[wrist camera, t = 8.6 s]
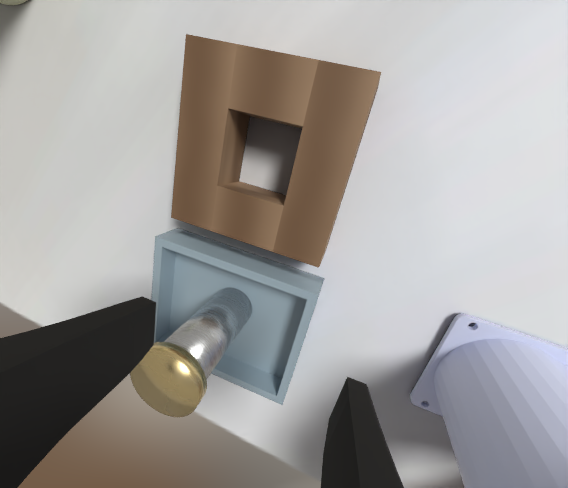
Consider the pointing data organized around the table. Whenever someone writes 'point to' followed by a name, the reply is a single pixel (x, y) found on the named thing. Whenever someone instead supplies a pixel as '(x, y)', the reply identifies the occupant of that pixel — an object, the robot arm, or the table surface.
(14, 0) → the can
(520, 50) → the table surface
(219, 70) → the pin stand
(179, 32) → the table surface
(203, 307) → the pin
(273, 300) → the tray
